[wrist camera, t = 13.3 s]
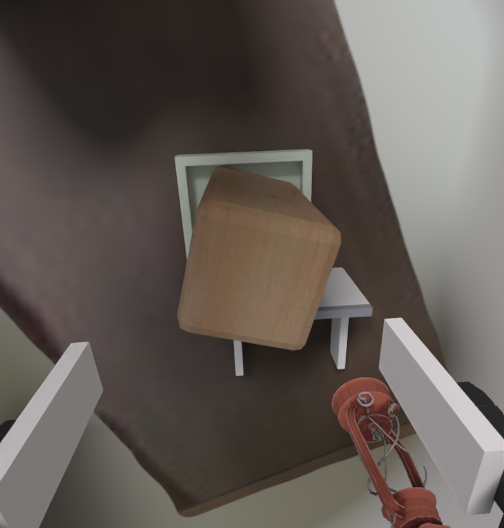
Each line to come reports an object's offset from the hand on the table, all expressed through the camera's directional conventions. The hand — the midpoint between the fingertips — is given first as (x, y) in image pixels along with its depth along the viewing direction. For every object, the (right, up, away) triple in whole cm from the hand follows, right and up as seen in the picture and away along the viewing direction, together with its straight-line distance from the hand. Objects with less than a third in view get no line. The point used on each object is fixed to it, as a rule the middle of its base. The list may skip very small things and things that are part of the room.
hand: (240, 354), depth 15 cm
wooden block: (0, +10, +26) cm, 28 cm away
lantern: (+18, -17, +40) cm, 47 cm away
